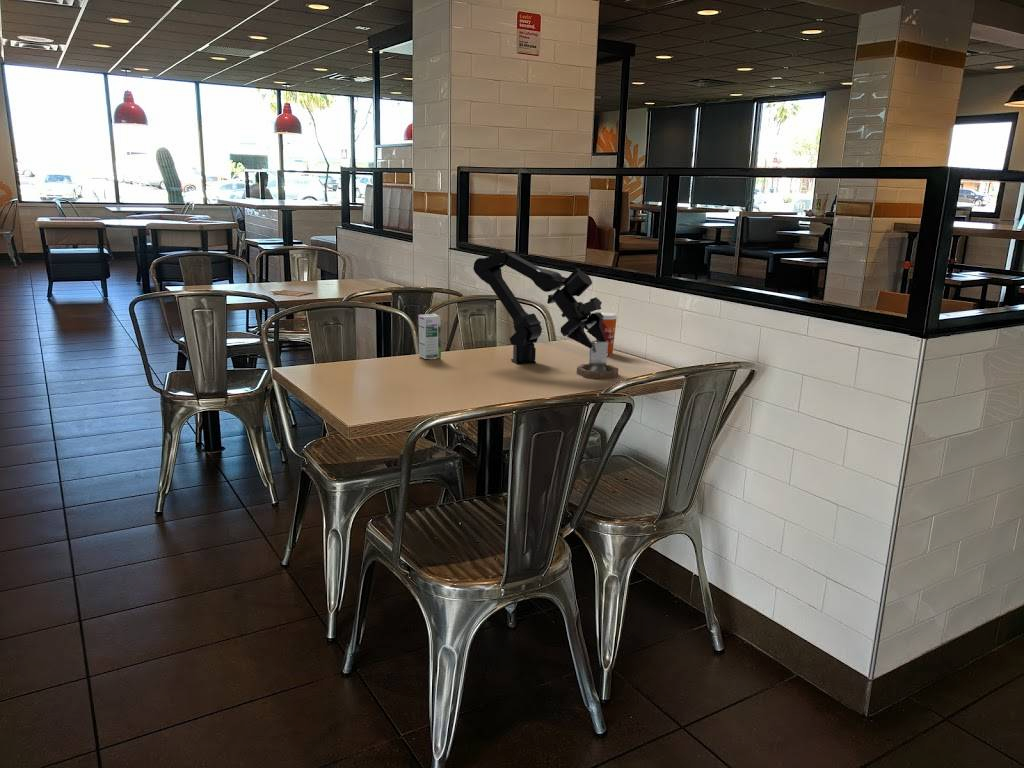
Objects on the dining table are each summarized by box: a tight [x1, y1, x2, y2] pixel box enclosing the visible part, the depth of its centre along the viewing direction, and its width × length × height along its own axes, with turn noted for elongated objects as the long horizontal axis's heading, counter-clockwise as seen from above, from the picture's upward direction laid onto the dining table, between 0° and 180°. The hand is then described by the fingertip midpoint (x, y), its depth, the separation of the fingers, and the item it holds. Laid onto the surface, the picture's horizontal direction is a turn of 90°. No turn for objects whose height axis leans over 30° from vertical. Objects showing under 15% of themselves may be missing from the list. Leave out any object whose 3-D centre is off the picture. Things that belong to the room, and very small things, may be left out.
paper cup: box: [595, 312, 618, 355], centre depth 267 cm, size 8×8×14 cm
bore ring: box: [576, 363, 619, 380], centre depth 237 cm, size 12×12×2 cm
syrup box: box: [418, 313, 442, 360], centre depth 253 cm, size 6×6×14 cm
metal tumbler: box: [588, 340, 608, 372], centre depth 236 cm, size 6×6×10 cm
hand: (598, 345), depth 235 cm, fingers open, 9 cm apart
